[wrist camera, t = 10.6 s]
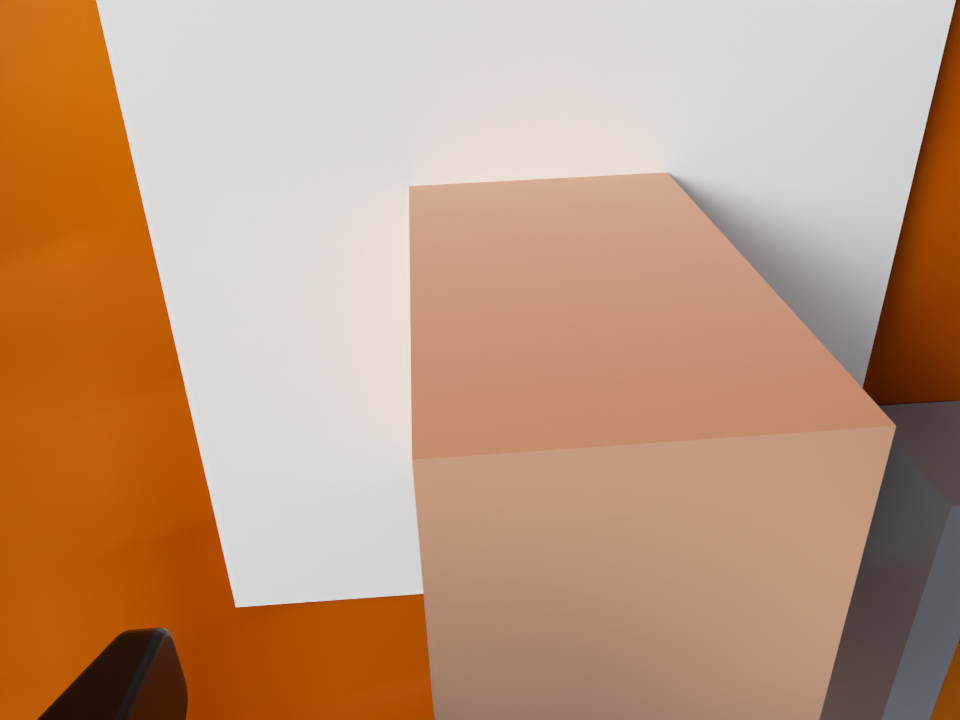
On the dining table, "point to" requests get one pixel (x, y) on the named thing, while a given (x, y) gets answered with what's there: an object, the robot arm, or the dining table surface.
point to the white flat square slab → (470, 159)
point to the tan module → (625, 461)
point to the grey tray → (905, 577)
